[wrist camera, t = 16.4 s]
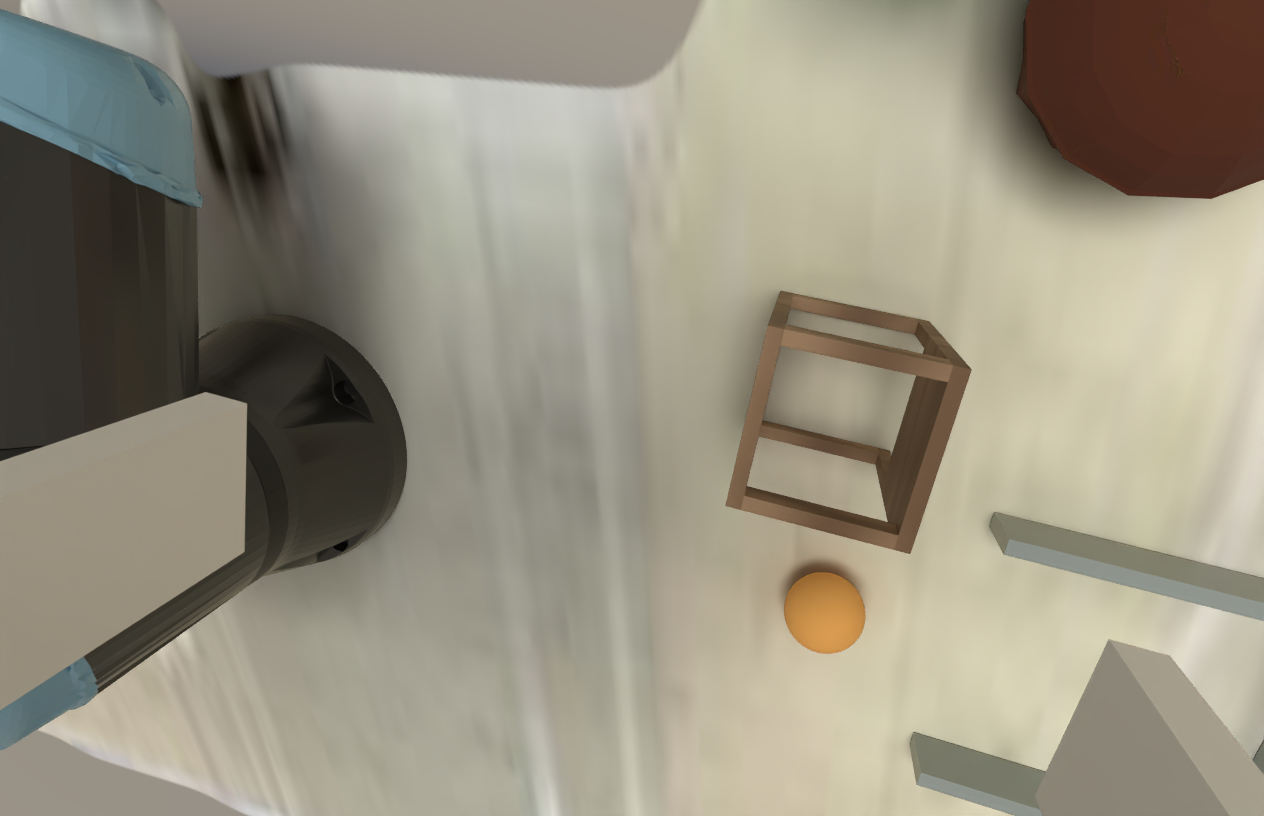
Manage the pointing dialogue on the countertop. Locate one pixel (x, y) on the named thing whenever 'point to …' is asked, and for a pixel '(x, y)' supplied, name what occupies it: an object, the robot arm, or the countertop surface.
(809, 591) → the ball
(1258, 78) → the muffin
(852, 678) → the countertop surface
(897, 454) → the open box frame
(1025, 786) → the u-shaped frame
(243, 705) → the countertop surface
